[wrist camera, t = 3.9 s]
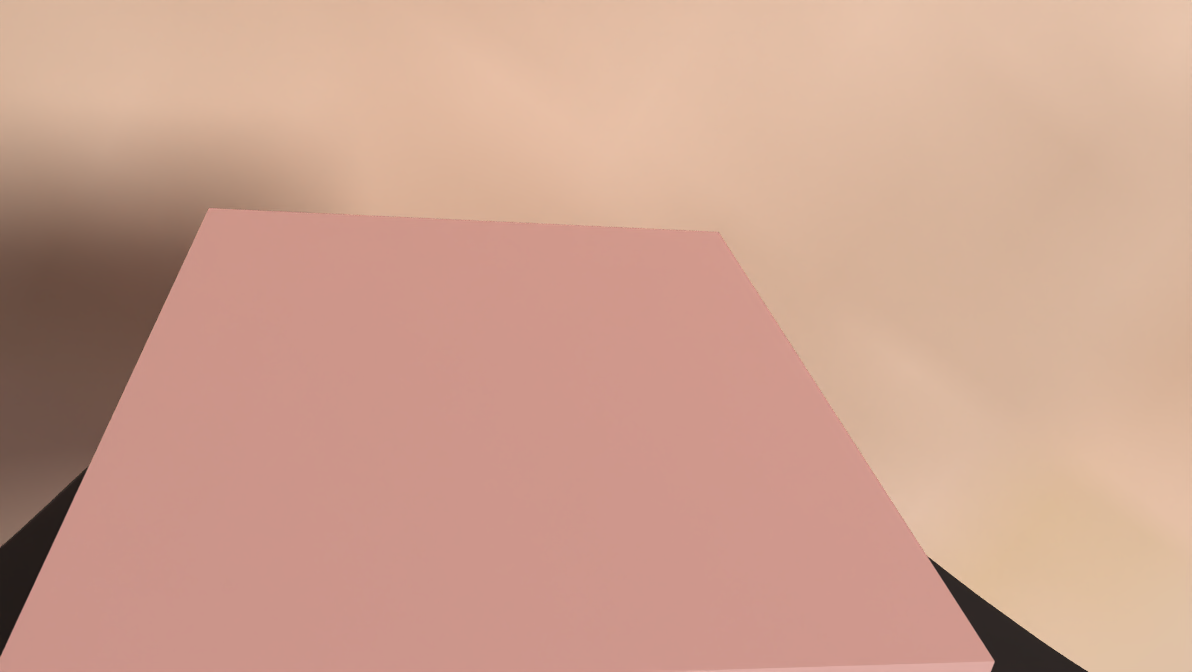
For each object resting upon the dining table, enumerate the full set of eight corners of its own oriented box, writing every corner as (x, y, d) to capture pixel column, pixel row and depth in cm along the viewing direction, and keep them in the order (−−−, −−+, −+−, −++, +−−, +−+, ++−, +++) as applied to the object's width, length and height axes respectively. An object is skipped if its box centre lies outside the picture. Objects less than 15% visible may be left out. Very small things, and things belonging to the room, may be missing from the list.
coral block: (718, 231, 11) (994, 661, 6) (653, 604, 13) (808, 1154, 8) (209, 208, 10) (-16, 691, 5) (233, 612, 12) (99, 1236, 7)
